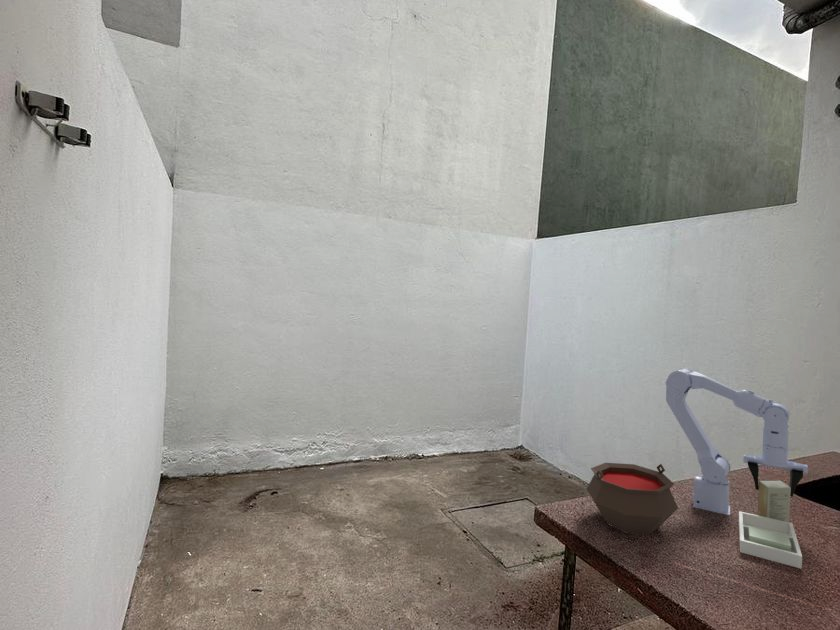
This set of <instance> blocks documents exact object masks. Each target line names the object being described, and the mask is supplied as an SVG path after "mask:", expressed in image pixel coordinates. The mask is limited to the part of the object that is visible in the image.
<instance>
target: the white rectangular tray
mask: <svg viewBox="0 0 840 630" xmlns="http://www.w3.org/2000/svg"><path fill="white" fill-rule="evenodd" d="M749 526H751V527H755V528H759V529H763V530H767V531H771V532H775V533H780V534H784V535H788V536H789V540H790V544H791V549H790V552H789V551H785V550H781V549H777V548H774V547H770V546H766V545H762V544H758V543H754V542H750V541H749ZM738 538H739V541H738V542H739V552H740V553H742V554H745V555H749V556H752V557H757V558H760V559H764V560H768V561H772V562H775V563H778V564H782V565H787V566H790V567H794V568H798V569H799V570H802V569H803V555H802V551H801V548H800V544H799V541H798V538H797V534H796V531H795V528H794V524H793V523H792V522H790V521H789V522H784V521H780V520H776V519H771V518H767V517H763V516H758V515H757V514H753V513H748V512H745V511H740V510H739V511H738Z"/></svg>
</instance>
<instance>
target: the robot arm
mask: <svg viewBox="0 0 840 630" xmlns="http://www.w3.org/2000/svg"><path fill="white" fill-rule="evenodd" d="M665 386H666V387H665V388H666V389H665V402H666V404H668V407H669V409H670V410H671V412H672V414H673V415H674V417H675V418H676V421H677V422H678V424H679V426H680V427H681V429H682V431H683V433H684V434H685V436H686V437H687V439H688V441H689V442H690V444H691V446H692V448H693V449H694V451H695V453H696V457H697V461H698V463H699V466H700V468H701V469H700V470H701V471H700V472H701V474H702V475H701V476H697V475H695V476H694V477H693V479H694V481H693V493H692V500H693V502H692V503H693V505H692V507H693V508H697V509H701V510H703V511H709V512H713V513H717V514H720V515H721V514H722V515H726V516H731V505H729V503H730V480H729V478H728V476H727V475H728V474H729V473H730V472H731V464H730V462H729V460H727V458H725V457H724V456H723V455H721V453H720V451H719V450H718V449H717V448H715V447H714V445H713V444H712V442H711V440H710V439H709V437H708V436H707V434H706V433H705V431H704V430H703V428H702V426H701V425H700V423H699V421H698V419H697V418H696V416H695V414H694V413H693V411H692V410H691V408H690V406H689V404H688V403H687V401H686V398H687V397H688V393H689V391H690V390H697V389H703V390H706V391H710V392H711V393H713V394H716V395H718V396H721V397H723V398H725V399H728V400H731V401H732V402H733V404H734V406H735V407H736V408H738V409H740V410H743V411H745V412H747V413H749V414H751V415H753V416H755V417H758V418H762V419H763V421H764V422H763V423H764V425H763V426H764V427H762V429H763V430H762V451H761V452H762V454H761V455H760V456H759V455H749V454H743V460H742V461H743V463H744V464H747V467H748V470H749V471H750V473H751V476H752V479H753V481H754V489H755V490H758V491H759V472H760V471H759V470H760V469H759V466H766V467H771V468H776V469H777V468H778V469H784V470H789V485H788V486H789V487H790V488H791V494H790V498H791V497H794V493H795V491H796V488H797V486H798V485H799V484H800V481H801V480H802V479H803V478H804V474H807V475H808V474H809V466H808V464H804V463H799V462H795V461H791V460H788V459H789V457H788V456H789V452H788V451H789V430H788V429H789V424H788V423H789V419H790V414H791V413H790V410H789V408H788V407H787V406H785V405H784V404H783V403H781V402H780V401H774V399H771V398H766V397H763V396H761V395H758V394H756V393H755V390H751V389H749V390H746V389H742V390H736V389H734V388H733V387H730V386H729V385H728V386H727V385H726V384H724V383H723V382H722V383H721V381H720V382H719V381H718V380H717V379H716V380H715V379H713V378H711V377H710V376H708V375H705V374H702V373H701V372H698V371H693V370H691V369H690V368H680V369H678V370H674V371H672V372H671V373H670V374H669V375H668V376H667V378H666V380H665Z"/></svg>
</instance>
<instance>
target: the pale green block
mask: <svg viewBox="0 0 840 630" xmlns="http://www.w3.org/2000/svg"><path fill="white" fill-rule="evenodd" d="M749 541H750V542H754V543H758V544H762V545H766V546H770V547H774V548H777V549H781V550H785V551H789V552H790V549H791V544H790V540H789V536H788V535H784V534H780V533H775V532H771V531H767V530H763V529H759V528H755V527H751V526H749Z"/></svg>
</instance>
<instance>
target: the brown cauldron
mask: <svg viewBox="0 0 840 630" xmlns="http://www.w3.org/2000/svg"><path fill="white" fill-rule="evenodd" d="M656 469H657V470H654V469H650V468H647V467H644V466H641V465H637V464H634V463H616V462H603V463H601V464H598V465H596V466H593V467H591V468H590V470H591V472H592V473H593V476H592V478H591V480H590V481H589V484H588V485H587V487H586V491H587V492H588V494H589V496H590V498H591V499H592V501H593V502H594V504H595V506H596V508H597V509H598V511H599V513H600V514H601V515H602V517H603V518H604V519H603V520H604V521H605V522H606V523H607V525H608V524H610V525H612V526H614V527H616V528H618V529H620V530H619V531H621V530H623V531H625V532H627V533H626V534H631V533H637V534H636V535H644V534H646V535H647V536H648V535H650V534H652V533H653V532H655V531H657V530H658V529H659V528H660V527H661V526H662V525H663V524H664V523H665V522H666V521H667V520H668V519H669V518H670V517H671V516H672V515H673V514H674V513H675V512H676V511H677V510H678V509H679V507H678V504H677V502H676V501H675V498H674V496H673V493H672V491H671V488H672V487H673V486H674V485H675V483H674V482H673V481H672V480H670V478H668V477H667V476H666V475H665V474H664V472H666V469H665V468H664V466H663V464H662V463H660V464H659V465H657V466H656ZM614 527H613V528H614ZM616 528H615V529H616ZM618 529H617V530H618ZM623 531H622V532H623ZM625 532H624V533H625ZM646 535H645V536H646Z"/></svg>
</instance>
